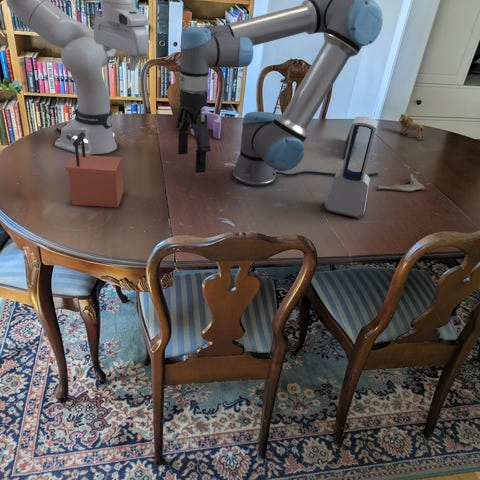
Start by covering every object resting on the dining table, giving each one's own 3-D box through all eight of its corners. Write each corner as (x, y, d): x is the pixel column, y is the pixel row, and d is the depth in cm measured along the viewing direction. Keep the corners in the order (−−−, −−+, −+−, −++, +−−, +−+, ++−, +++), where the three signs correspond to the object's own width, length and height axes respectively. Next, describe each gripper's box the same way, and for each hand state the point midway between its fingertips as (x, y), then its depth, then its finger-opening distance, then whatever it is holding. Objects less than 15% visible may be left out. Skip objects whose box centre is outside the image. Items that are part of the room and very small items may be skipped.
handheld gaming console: (349, 160, 187) (354, 136, 182) (342, 158, 188) (347, 134, 183) (355, 142, 206) (361, 119, 201) (349, 140, 207) (354, 118, 201)
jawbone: (429, 189, 172) (431, 184, 171) (394, 201, 161) (396, 196, 160) (410, 177, 177) (412, 172, 176) (375, 189, 167) (376, 184, 165)
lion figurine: (393, 132, 222) (398, 113, 217) (398, 130, 225) (403, 111, 221) (423, 141, 214) (429, 122, 210) (427, 139, 218) (433, 120, 213)
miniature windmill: (286, 130, 210) (297, 60, 194) (268, 127, 211) (277, 58, 195) (288, 124, 218) (299, 56, 202) (271, 121, 219) (279, 54, 203)
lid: (65, 171, 132) (62, 142, 128) (74, 158, 140) (71, 130, 136) (115, 174, 134) (114, 145, 129) (121, 161, 142) (120, 133, 137)
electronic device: (364, 210, 152) (388, 120, 136) (361, 221, 146) (387, 128, 130) (327, 201, 155) (346, 112, 139) (322, 211, 149) (342, 119, 133)
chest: (72, 204, 138) (68, 171, 133) (80, 190, 146) (77, 158, 140) (117, 207, 139) (115, 174, 134) (123, 193, 147) (121, 161, 142)
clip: (182, 123, 206) (183, 107, 202) (209, 122, 210) (210, 106, 207) (197, 140, 191) (197, 123, 187) (225, 138, 195) (226, 122, 191)
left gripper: (86, 7, 130) (90, 59, 137) (133, 20, 120) (134, 75, 127) (105, 7, 134) (107, 57, 142) (152, 19, 124) (152, 73, 131)
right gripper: (165, 77, 133) (164, 147, 145) (198, 104, 115) (195, 182, 127) (189, 77, 137) (187, 145, 148) (226, 103, 118) (220, 178, 130)
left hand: (121, 66), depth 134 cm, fingers open, 8 cm apart
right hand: (191, 162), depth 137 cm, fingers open, 13 cm apart
